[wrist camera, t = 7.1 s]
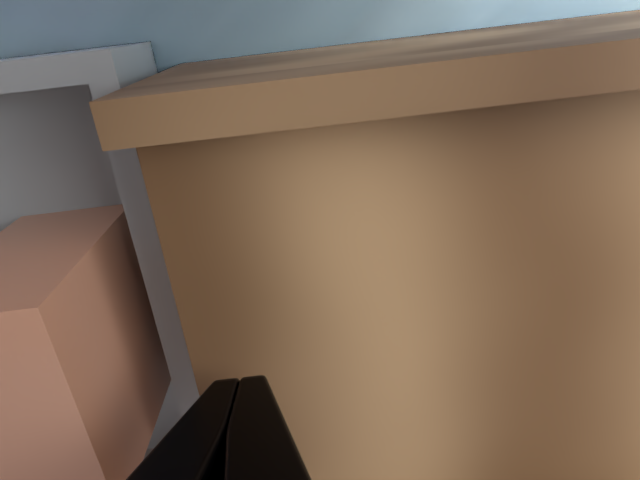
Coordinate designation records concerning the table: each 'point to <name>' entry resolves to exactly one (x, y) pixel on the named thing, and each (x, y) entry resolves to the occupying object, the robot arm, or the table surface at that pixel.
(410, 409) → the wooden box
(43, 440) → the tile
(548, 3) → the table surface
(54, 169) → the tray
